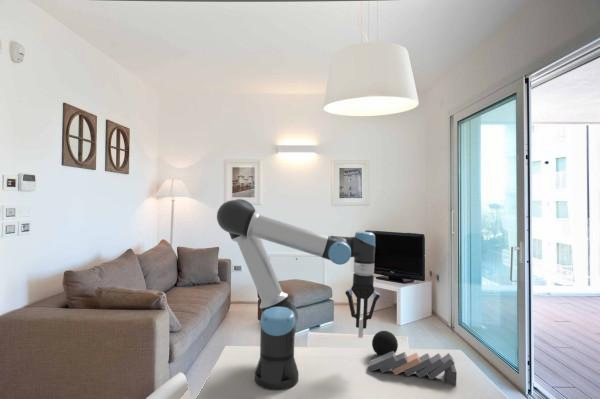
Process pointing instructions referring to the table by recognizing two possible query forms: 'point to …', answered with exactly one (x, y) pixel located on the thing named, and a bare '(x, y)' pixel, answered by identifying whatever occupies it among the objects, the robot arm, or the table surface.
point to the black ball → (384, 343)
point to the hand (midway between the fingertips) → (360, 336)
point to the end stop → (451, 375)
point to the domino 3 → (408, 364)
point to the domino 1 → (382, 361)
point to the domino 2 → (399, 361)
